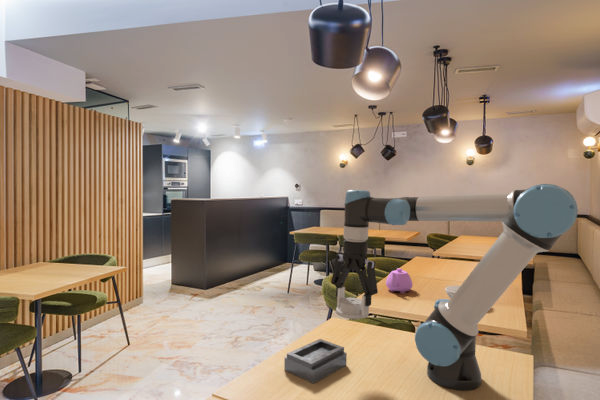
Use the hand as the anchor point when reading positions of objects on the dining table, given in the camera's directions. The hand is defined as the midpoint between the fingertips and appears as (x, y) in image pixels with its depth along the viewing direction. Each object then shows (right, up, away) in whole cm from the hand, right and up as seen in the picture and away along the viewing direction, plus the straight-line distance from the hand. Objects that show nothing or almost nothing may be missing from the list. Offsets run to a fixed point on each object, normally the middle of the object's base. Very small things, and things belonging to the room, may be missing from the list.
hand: (352, 311), depth 121 cm
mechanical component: (0, -1, 0) cm, 1 cm away
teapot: (+37, -15, +91) cm, 99 cm away
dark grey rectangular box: (-10, -18, +2) cm, 21 cm away
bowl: (+63, -16, +68) cm, 94 cm away
